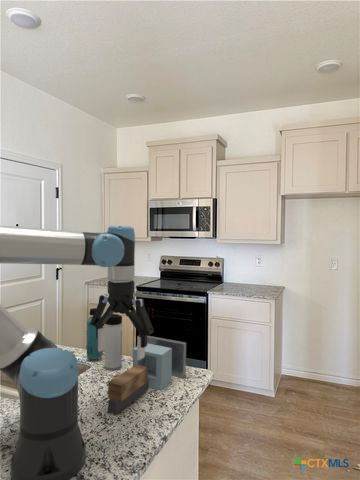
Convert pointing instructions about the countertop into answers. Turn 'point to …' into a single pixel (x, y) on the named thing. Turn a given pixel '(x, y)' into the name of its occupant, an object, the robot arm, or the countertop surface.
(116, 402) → the rail
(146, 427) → the countertop surface
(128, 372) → the brown block
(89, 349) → the teal cylinder
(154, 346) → the socket block
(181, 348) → the wall
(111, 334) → the travel mug
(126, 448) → the countertop surface
